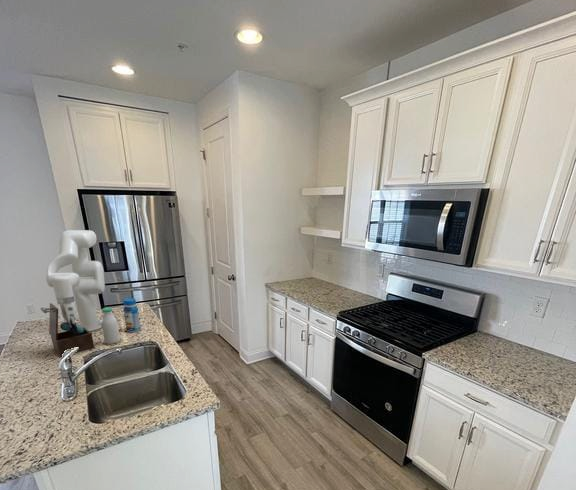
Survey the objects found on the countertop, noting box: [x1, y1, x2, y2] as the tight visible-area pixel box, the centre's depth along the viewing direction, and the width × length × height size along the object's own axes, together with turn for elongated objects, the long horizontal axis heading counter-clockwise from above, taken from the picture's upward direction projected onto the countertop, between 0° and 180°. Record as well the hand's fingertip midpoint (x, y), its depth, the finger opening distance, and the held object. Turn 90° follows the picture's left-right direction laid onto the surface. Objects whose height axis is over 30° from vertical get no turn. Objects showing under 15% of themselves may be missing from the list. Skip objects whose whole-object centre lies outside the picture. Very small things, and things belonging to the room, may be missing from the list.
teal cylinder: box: [59, 321, 84, 334], centre depth 164 cm, size 11×4×4 cm
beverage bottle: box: [122, 297, 142, 333], centre depth 192 cm, size 8×8×20 cm
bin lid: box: [40, 303, 59, 341], centre depth 156 cm, size 16×13×5 cm
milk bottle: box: [101, 307, 121, 345], centre depth 174 cm, size 8×8×20 cm
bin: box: [50, 327, 95, 358], centre depth 166 cm, size 16×13×9 cm
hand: (73, 332), depth 165 cm, fingers closed on teal cylinder, 4 cm apart
